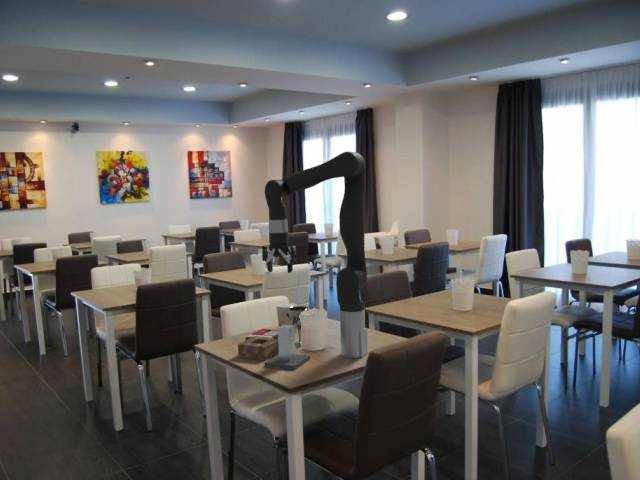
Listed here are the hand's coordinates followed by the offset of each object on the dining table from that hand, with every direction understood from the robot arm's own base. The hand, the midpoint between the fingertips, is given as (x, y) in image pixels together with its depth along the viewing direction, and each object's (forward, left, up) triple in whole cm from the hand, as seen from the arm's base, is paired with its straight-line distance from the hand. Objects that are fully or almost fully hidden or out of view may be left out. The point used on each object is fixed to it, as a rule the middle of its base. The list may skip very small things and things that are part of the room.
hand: (279, 272), depth 210 cm
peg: (-11, +17, -29) cm, 35 cm away
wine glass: (-5, -5, -31) cm, 31 cm away
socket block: (+4, +11, -30) cm, 32 cm away
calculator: (+11, -5, -31) cm, 33 cm away
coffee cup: (+9, -21, -31) cm, 38 cm away
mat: (-11, +17, -30) cm, 36 cm away
